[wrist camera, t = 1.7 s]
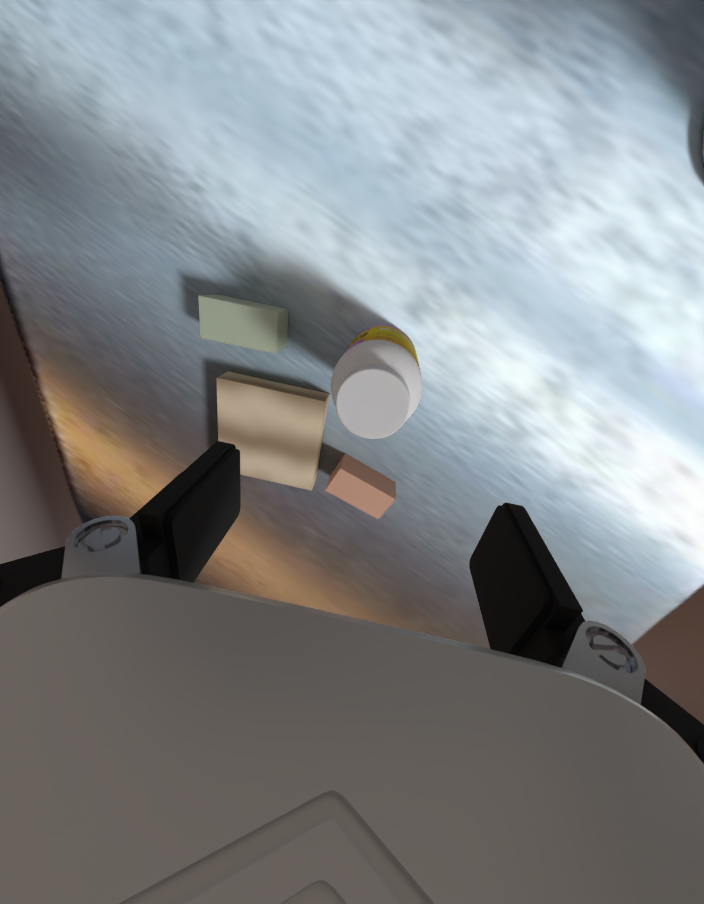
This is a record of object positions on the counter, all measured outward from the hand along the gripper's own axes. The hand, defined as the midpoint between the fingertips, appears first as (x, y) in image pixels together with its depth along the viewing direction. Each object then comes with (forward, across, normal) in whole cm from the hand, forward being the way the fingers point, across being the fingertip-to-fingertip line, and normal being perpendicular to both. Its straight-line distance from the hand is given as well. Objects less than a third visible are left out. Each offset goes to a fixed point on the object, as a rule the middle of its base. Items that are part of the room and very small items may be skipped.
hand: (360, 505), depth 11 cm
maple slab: (+22, +10, +10) cm, 26 cm away
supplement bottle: (+23, 0, 0) cm, 23 cm away
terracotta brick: (+23, -1, +14) cm, 26 cm away
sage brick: (+23, +13, -2) cm, 26 cm away
